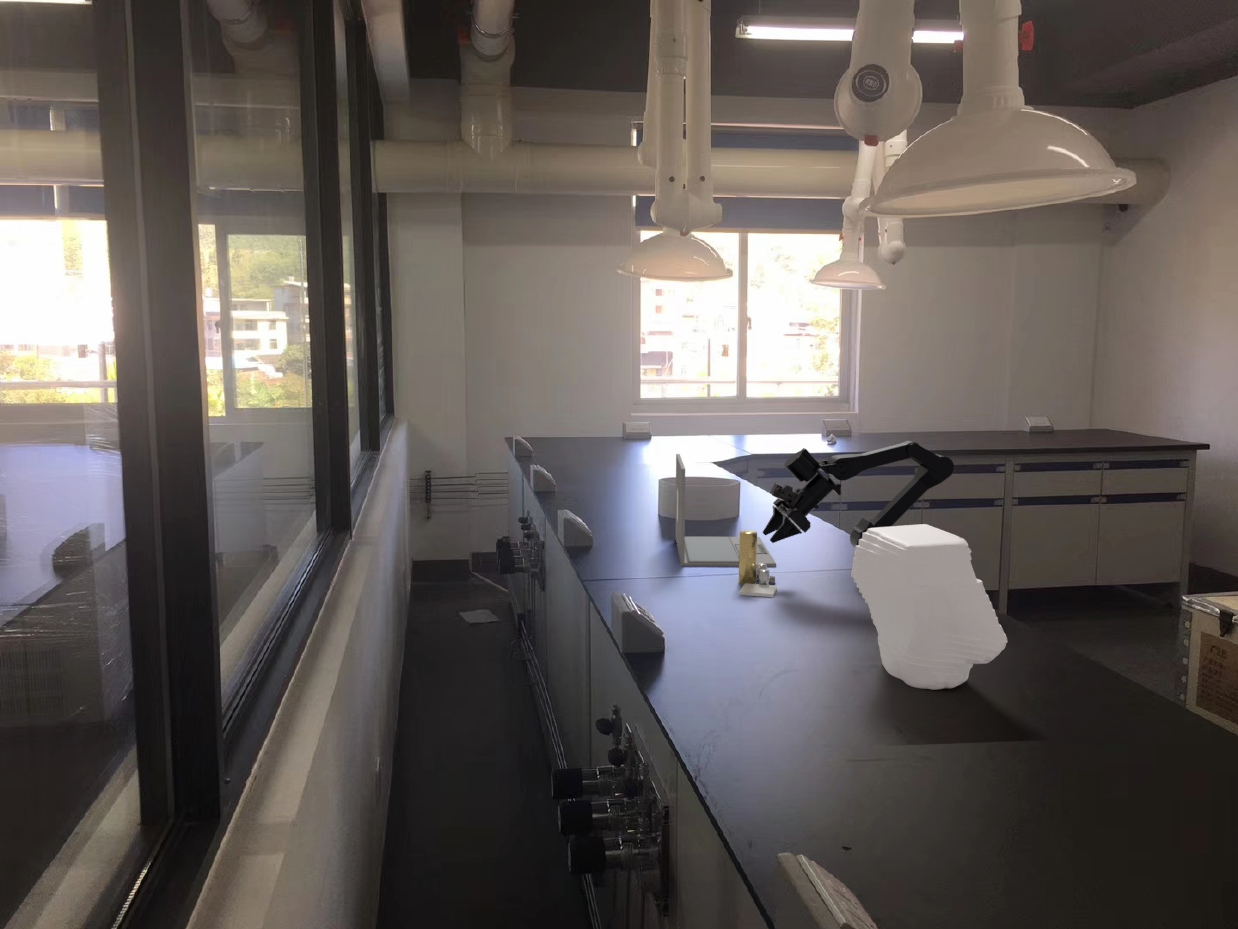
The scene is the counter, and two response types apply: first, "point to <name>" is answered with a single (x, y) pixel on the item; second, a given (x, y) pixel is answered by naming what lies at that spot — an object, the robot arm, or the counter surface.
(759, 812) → the counter surface
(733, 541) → the laptop
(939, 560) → the paper stack
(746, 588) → the tile
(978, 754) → the counter surface
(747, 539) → the brass tube
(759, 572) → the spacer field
